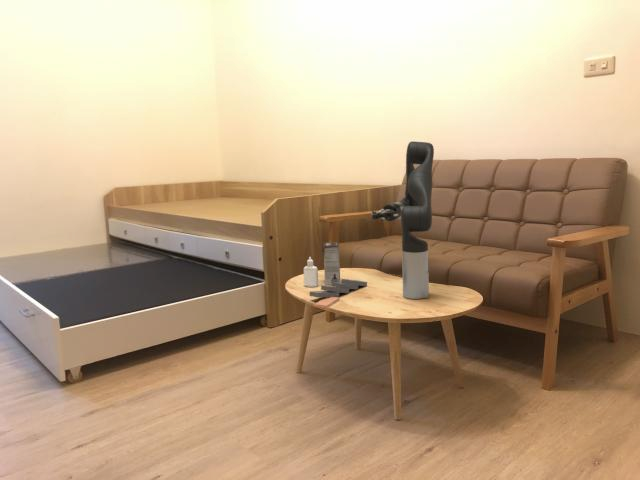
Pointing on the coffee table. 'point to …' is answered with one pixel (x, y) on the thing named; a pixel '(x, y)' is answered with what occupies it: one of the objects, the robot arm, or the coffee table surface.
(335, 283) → the domino
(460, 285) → the coffee table surface
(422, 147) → the robot arm
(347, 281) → the domino
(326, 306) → the domino
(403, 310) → the coffee table surface
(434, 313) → the coffee table surface
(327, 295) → the domino
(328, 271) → the coffee box
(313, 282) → the eye dropper bottle
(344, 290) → the domino
